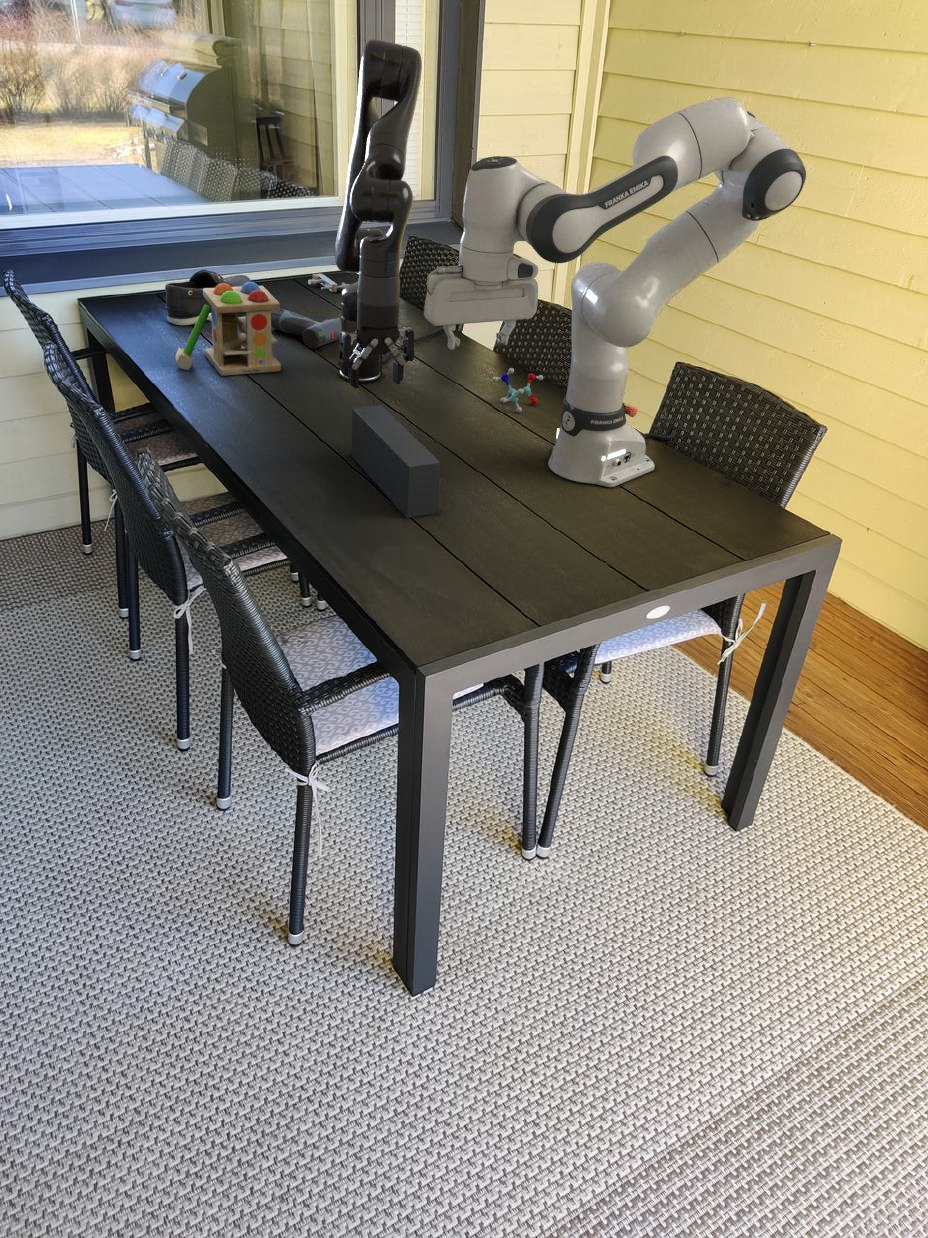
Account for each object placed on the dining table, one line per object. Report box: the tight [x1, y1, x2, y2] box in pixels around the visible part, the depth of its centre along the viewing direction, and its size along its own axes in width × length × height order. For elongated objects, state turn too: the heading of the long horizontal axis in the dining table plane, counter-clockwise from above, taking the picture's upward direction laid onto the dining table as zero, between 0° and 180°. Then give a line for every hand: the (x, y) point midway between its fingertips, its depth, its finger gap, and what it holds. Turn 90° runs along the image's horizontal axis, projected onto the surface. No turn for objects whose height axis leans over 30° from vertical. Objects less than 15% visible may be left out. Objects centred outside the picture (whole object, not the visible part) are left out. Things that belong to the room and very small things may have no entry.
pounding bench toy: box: [174, 281, 282, 377], centre depth 225 cm, size 23×14×18 cm, turn 116°
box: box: [350, 404, 441, 519], centre depth 184 cm, size 27×6×10 cm, turn 27°
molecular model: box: [492, 367, 544, 413], centre depth 223 cm, size 12×10×10 cm
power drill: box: [271, 308, 341, 349], centre depth 252 cm, size 5×19×20 cm
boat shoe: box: [164, 269, 253, 326], centre depth 260 cm, size 13×33×10 cm, turn 147°
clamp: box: [307, 273, 350, 293], centre depth 287 cm, size 15×2×10 cm
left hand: (375, 384), depth 185 cm, fingers open, 8 cm apart
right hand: (477, 346), depth 170 cm, fingers open, 8 cm apart
